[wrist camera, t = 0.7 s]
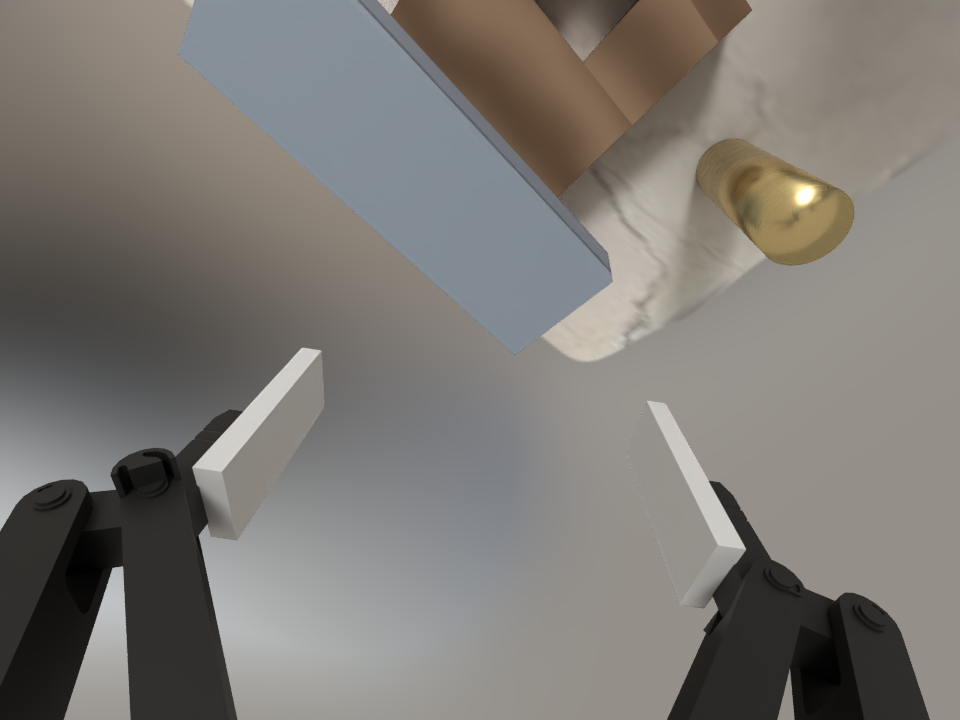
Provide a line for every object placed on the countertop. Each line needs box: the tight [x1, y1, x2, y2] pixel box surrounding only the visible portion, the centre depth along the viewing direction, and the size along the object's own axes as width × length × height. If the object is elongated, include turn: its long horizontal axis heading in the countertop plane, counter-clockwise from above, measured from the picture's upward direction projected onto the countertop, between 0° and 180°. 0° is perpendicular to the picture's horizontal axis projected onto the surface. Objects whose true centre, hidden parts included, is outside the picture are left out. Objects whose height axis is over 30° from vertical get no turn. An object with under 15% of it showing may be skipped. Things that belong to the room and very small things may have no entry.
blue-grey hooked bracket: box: [178, 0, 613, 355], centre depth 27 cm, size 7×22×16 cm, turn 47°
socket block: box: [391, 0, 752, 197], centre depth 28 cm, size 18×16×4 cm
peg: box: [696, 139, 854, 265], centre depth 27 cm, size 4×4×14 cm
